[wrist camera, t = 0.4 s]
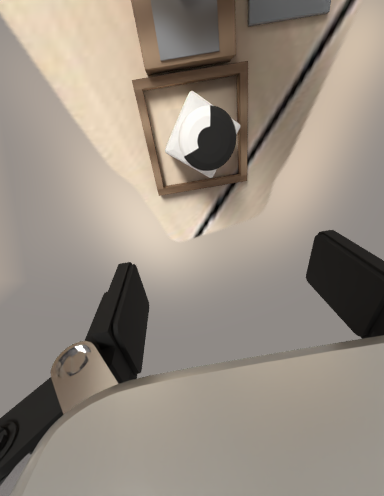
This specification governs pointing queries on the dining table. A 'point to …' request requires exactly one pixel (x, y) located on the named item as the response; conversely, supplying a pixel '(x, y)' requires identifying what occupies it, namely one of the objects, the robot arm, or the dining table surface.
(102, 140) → the dining table surface
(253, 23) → the slate mat
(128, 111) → the dining table surface
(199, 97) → the medicine bottle
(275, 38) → the dining table surface
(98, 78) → the dining table surface
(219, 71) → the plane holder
